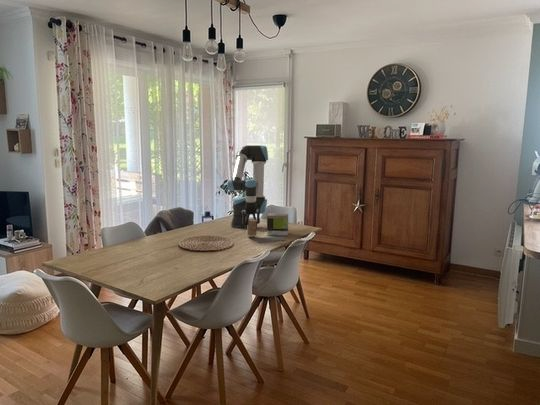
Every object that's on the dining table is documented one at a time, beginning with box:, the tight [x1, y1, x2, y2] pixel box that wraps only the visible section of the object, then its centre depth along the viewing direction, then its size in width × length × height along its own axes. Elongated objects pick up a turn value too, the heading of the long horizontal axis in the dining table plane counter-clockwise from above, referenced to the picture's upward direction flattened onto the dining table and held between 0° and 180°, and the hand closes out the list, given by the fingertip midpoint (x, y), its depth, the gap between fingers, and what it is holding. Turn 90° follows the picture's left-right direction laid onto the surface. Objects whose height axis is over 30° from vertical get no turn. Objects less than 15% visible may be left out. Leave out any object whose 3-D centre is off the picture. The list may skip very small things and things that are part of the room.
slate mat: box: [253, 235, 286, 244], centre depth 276 cm, size 10×20×1 cm, turn 112°
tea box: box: [266, 213, 289, 236], centre depth 292 cm, size 15×10×15 cm, turn 84°
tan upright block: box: [247, 216, 257, 237], centre depth 281 cm, size 9×5×11 cm, turn 22°
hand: (250, 233), depth 282 cm, fingers closed on tan upright block, 5 cm apart
